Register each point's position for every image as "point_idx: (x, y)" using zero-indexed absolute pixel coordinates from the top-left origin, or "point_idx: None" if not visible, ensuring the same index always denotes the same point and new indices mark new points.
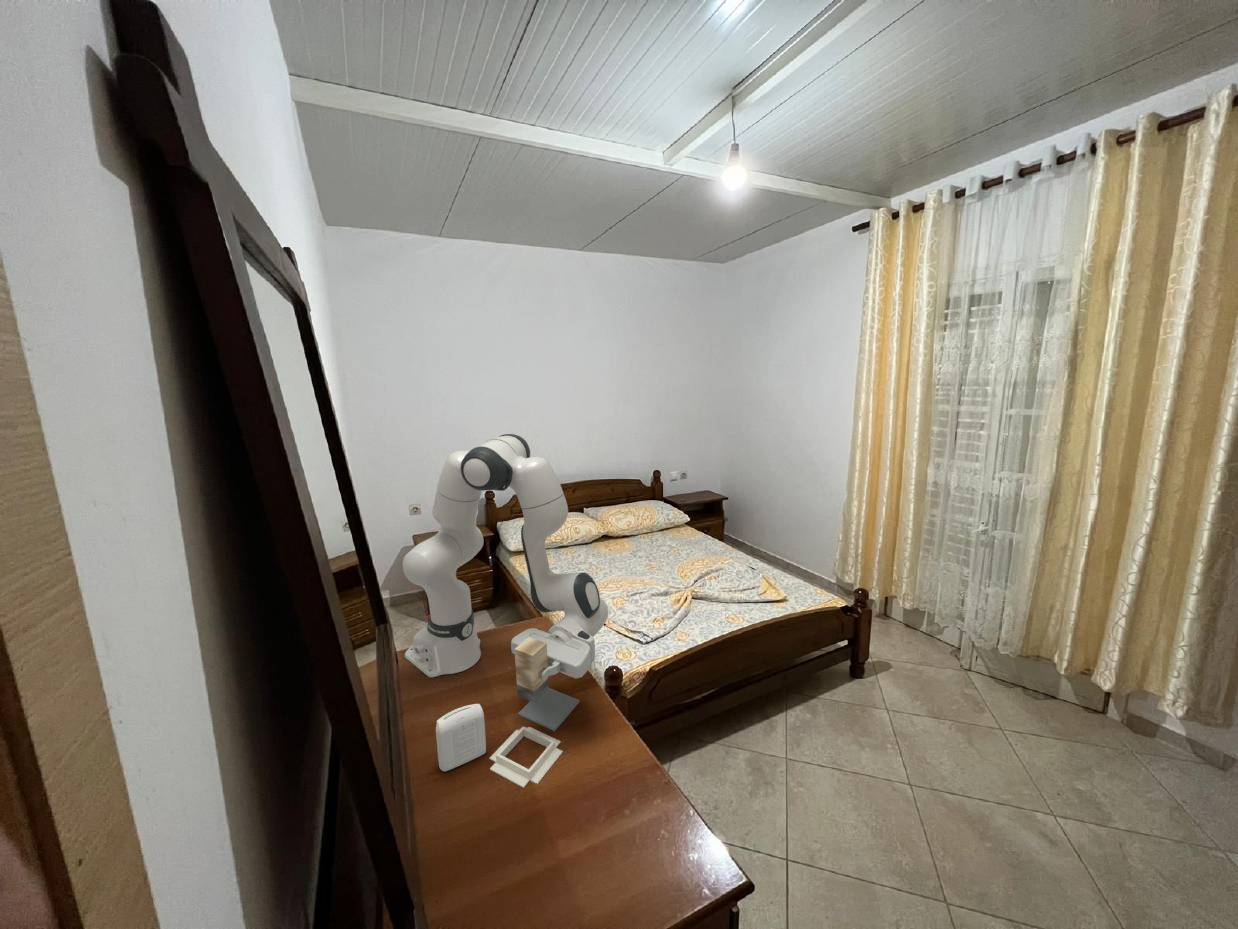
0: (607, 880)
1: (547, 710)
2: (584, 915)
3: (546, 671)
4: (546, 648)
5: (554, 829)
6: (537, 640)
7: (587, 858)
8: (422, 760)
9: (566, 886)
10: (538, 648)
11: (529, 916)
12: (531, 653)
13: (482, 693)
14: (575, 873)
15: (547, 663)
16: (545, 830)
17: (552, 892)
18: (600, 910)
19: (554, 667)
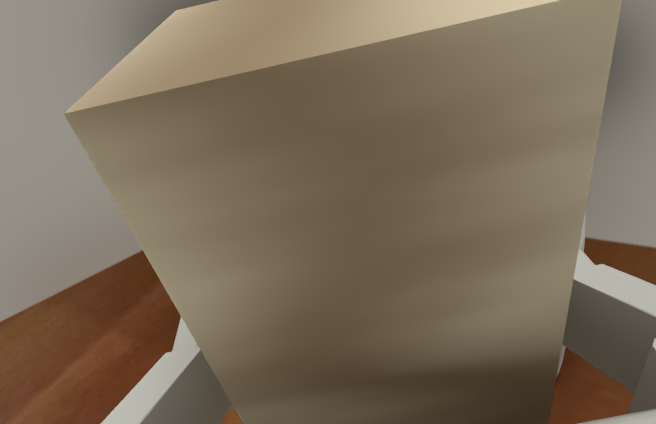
0: (3, 359)
1: None
2: (44, 302)
3: (182, 326)
4: (129, 210)
5: (149, 356)
6: (335, 46)
7: (53, 362)
8: (595, 249)
9: (87, 308)
10: (171, 40)
11: (135, 255)
12: (210, 7)
13: None
14: (74, 330)
15: (238, 414)
16: (169, 342)
17: (110, 290)
18: (16, 321)
19: (112, 421)
